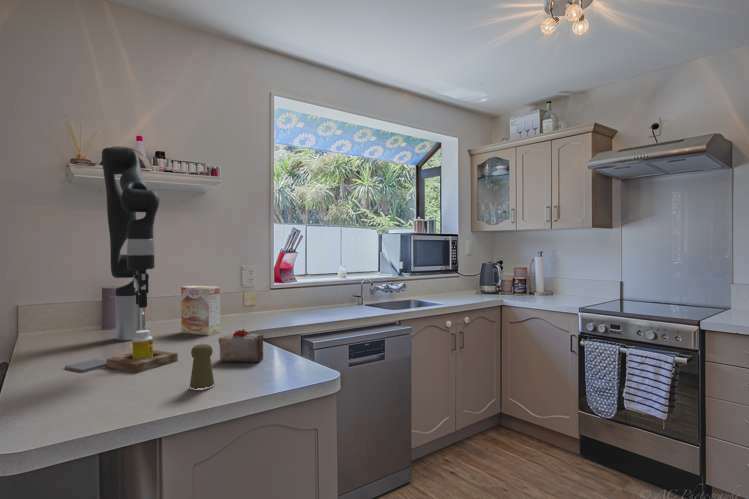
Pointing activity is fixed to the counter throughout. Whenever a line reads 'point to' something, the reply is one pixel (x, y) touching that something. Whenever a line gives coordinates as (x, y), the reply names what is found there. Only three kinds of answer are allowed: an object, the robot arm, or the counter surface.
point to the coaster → (87, 365)
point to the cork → (201, 367)
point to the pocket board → (141, 361)
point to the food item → (241, 347)
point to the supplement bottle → (142, 345)
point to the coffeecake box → (200, 310)
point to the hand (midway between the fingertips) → (141, 305)
